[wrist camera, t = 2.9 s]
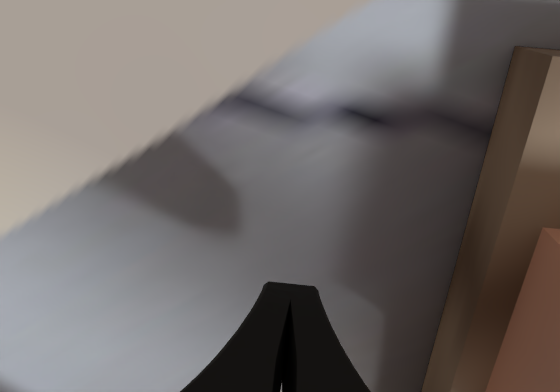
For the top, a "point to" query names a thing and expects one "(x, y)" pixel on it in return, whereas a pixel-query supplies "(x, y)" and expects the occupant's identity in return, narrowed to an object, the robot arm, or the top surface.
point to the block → (533, 326)
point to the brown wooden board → (502, 224)
